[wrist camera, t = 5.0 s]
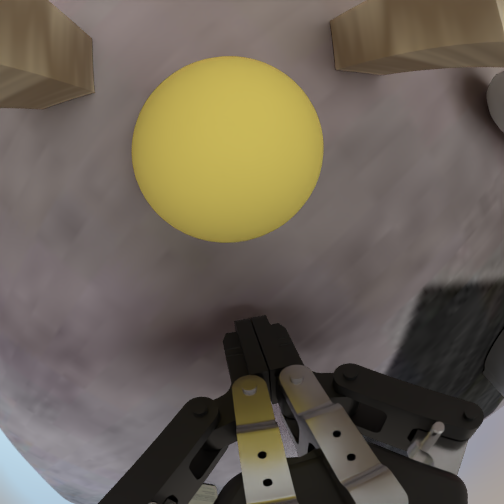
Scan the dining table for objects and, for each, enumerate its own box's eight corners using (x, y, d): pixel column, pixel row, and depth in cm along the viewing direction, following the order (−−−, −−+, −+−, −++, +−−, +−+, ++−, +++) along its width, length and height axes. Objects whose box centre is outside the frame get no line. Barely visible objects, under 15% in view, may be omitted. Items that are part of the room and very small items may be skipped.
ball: (333, 23, 6) (269, 88, 12) (106, 38, 5) (133, 108, 11) (378, 229, 8) (294, 217, 13) (143, 286, 6) (158, 247, 12)
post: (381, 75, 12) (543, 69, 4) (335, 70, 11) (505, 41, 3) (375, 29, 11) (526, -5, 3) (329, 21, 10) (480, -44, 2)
